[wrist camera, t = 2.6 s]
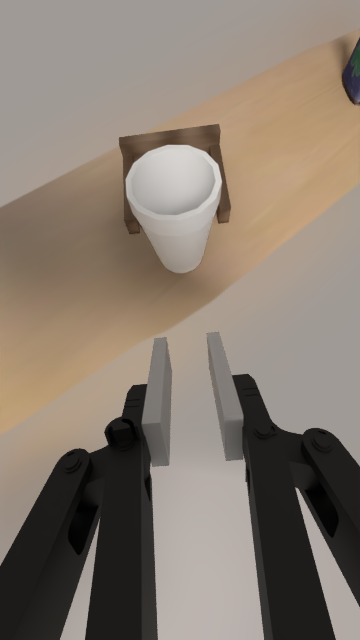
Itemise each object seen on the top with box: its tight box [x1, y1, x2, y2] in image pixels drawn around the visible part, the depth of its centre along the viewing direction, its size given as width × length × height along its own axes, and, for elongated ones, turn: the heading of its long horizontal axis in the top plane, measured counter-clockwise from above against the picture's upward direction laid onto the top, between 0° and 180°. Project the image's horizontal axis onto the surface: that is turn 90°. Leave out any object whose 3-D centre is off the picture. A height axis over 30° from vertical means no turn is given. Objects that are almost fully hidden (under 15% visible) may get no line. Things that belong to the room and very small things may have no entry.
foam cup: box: [125, 145, 222, 273], centre depth 31 cm, size 10×9×13 cm
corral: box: [119, 124, 231, 234], centre depth 38 cm, size 15×14×5 cm
